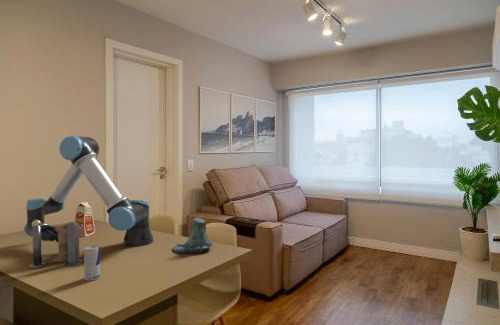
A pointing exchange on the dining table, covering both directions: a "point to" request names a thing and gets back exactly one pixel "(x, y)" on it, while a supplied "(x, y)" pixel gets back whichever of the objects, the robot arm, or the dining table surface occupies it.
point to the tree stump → (195, 239)
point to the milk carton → (85, 219)
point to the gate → (61, 246)
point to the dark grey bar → (72, 245)
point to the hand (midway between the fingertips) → (68, 239)
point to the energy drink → (91, 263)
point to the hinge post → (37, 245)
